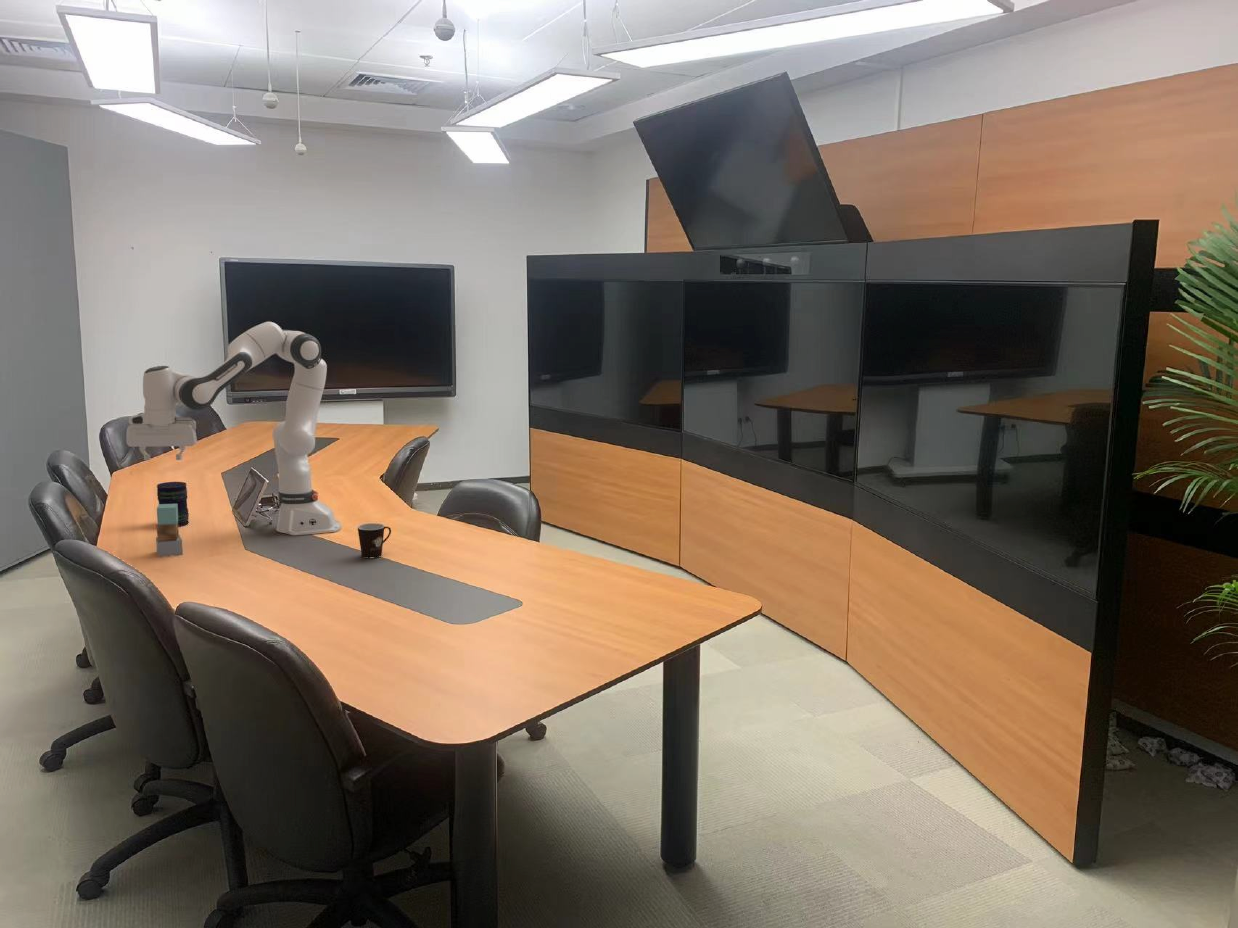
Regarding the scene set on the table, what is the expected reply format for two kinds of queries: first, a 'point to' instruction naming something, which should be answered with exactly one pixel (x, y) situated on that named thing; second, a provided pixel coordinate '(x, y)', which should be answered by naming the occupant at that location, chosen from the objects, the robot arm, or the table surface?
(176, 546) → the grey base block
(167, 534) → the walnut cube
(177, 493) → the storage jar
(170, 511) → the teal cube
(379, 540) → the coffee mug
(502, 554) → the table surface
